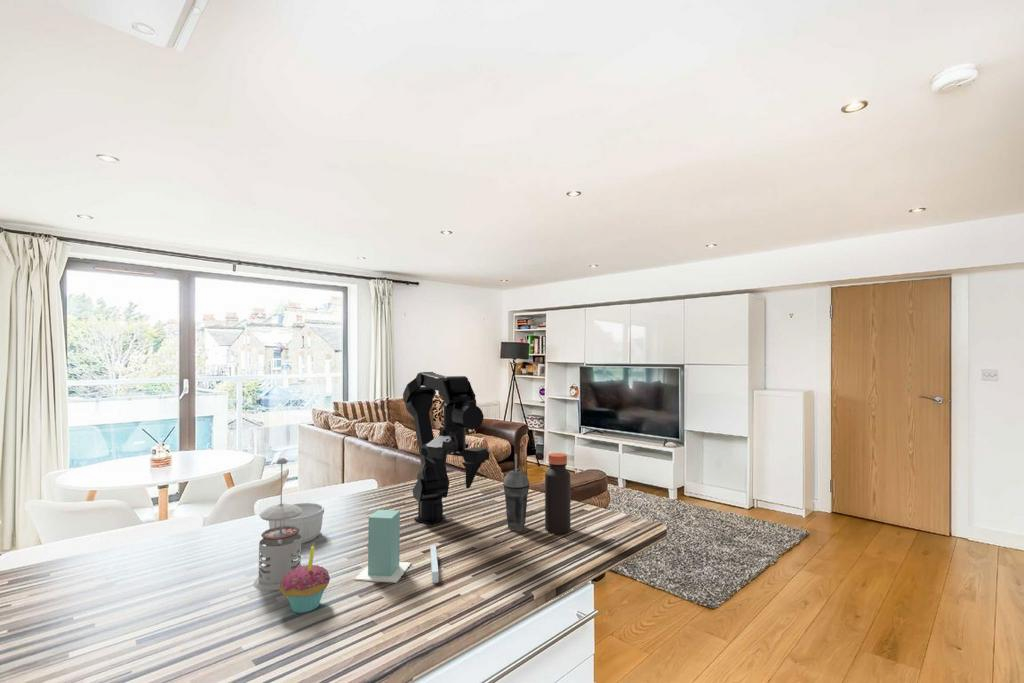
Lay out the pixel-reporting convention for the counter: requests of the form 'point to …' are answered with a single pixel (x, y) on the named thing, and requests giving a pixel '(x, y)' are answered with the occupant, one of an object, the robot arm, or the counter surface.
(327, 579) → the cupcake
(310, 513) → the ramekin
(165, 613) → the counter surface
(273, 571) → the french press
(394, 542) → the sage block
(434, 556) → the acrylic strip
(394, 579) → the resting pad
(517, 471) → the beverage cup
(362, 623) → the counter surface
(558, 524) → the bottle
